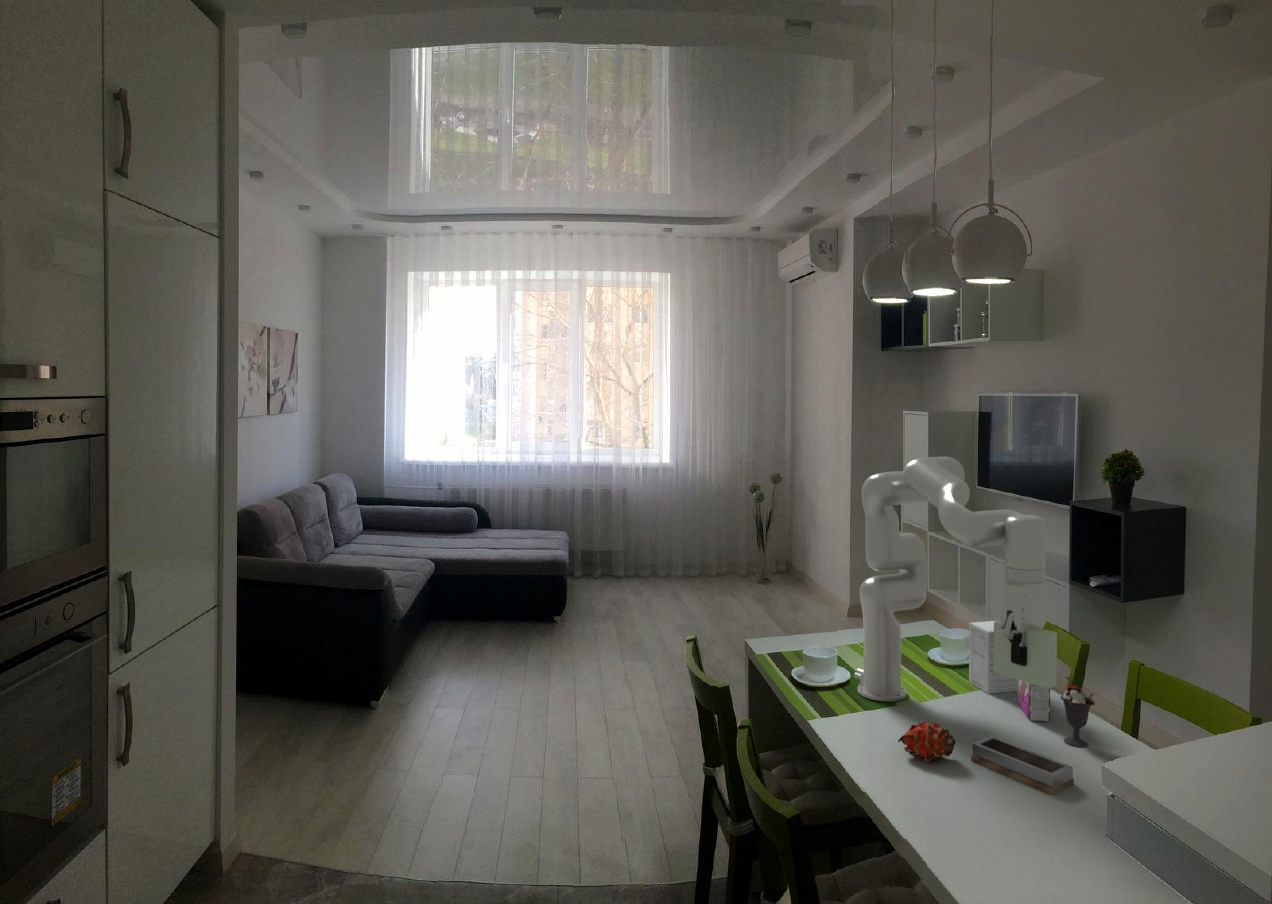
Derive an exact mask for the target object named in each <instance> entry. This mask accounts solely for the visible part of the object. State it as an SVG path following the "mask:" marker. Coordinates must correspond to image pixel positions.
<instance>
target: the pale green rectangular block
mask: <svg viewBox="0 0 1272 904" xmlns="http://www.w3.org/2000/svg"><path fill="white" fill-rule="evenodd" d="M994 621H995V622H994V668H993V672H994V673H997V674H1000V675H1004V676H1007V677H1010V678H1014V679H1017V680H1020V681H1024V682H1027V683H1030V684H1034V685H1037V686H1040V687H1044V688H1047V689H1049V688H1050V689H1051V688H1053V687H1057V672H1058V671H1057V670H1058V669H1057V668H1058V667H1057V666H1058V663H1057V661H1058V632H1057V631H1052V630H1049V629H1044V628H1043V629H1041V628H1036V629H1032V630H1029V631H1027V632H1026V637H1025V647H1027V665H1026V666H1021V665H1018V664H1014V663H1012V662H1011V644H1010V643H1009V639H1008V638H1006V637H1005V636H1003V632H1004V629H1002V628H1001V627H1000V624H999V619H998V620H994ZM1015 629H1017V628H1016V627H1015ZM1015 635H1018V637H1019V638H1020V634H1016V633H1015Z"/></svg>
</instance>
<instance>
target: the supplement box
mask: <svg viewBox="0 0 1272 904" xmlns="http://www.w3.org/2000/svg"><path fill="white" fill-rule="evenodd" d="M995 621H996V620H989V621H986V620H985V621H975V622H968V623H969V625H968V626H969V627H968V628H969V630H968V631H969V633H968V635H969V636H968V646H969V649H968V651H969V652H968V666H969V667H968V670H969V671H968V683H970V684H971V685H973V686H975V687H977V688H978V689H980V690H981V691H983V692H985V693H986V694H999V693H1000V694H1001V693H1002V692H1003V693H1012V692H1011V691H1016V692H1018V680H1017V679H1014V678H1010V677H1007V676H1004V675H1000V674H997V673H994V672H993V668H994V622H995Z"/></svg>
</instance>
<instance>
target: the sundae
mask: <svg viewBox="0 0 1272 904" xmlns="http://www.w3.org/2000/svg"><path fill="white" fill-rule="evenodd" d="M1065 678H1066V680H1068V681H1069V685H1068V686H1067V687H1066V690H1065V691H1064V693H1063V694H1062V695H1061V696H1060V698H1059V699H1061V701H1063V705H1064V714H1065V719H1066V722H1067V723H1068V724H1069V725H1070V726H1071V727H1072V736H1071V737H1070V736H1069V737H1065V738H1064V739H1063V742H1064V743H1065V744H1066V745H1068V746H1070V747H1075V748H1087V747H1088V746H1089V743H1088V741H1086V740H1085V739H1083V738H1081V737H1080V729H1081V728H1084V727H1085V726H1086V725H1087V723H1088V719H1089V712H1090V710H1091V709H1090V708H1091V706H1095V701H1094V699H1092V698H1091V697H1092V696H1093V693H1091V694H1090V695H1089V696H1087V692H1086V691H1085V690H1084V689H1083V688H1081V687H1079V686H1078V685H1076V684H1074V682H1073V680H1072V679H1071V678H1070V677H1069V676H1065ZM1071 684H1072V685H1071Z"/></svg>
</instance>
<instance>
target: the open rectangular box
mask: <svg viewBox="0 0 1272 904" xmlns="http://www.w3.org/2000/svg"><path fill="white" fill-rule="evenodd" d="M971 752H972V753H971V755H970V762H973V763H976V764H977V765H981V766H982V767H984V768H987V769H990V770H992V771H995V772H996V773H999V774H1001V775H1004V776H1006V777H1008V778H1011V779H1013V780H1015V781H1018V782H1020V783H1023V784H1025V785H1027V786H1030V787H1032V788H1035V789H1036V790H1040V791H1042V792H1043V793H1046V794H1049V795H1051V796H1052V795H1054V794H1056V793H1059V792H1060V791H1062V790H1064V789H1067V788H1068V787H1070V786H1072V785H1074V784H1075V778H1074V766H1072V765H1069V764H1067V763H1064V762H1062V761H1059V760H1057V759H1054V758H1051V757H1048V756H1045V755H1044V754H1040V753H1038V752H1035V751H1033V750H1030V749H1028V748H1025V747H1023V746H1020V745H1017V744H1014V743H1012V742H1009V741H1007V740H1005V739H1002V738H998V737H996V736H994V735H990V736H989V737H986V738H983V739H981V740H978V741H975V742H973V743H972V751H971Z"/></svg>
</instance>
